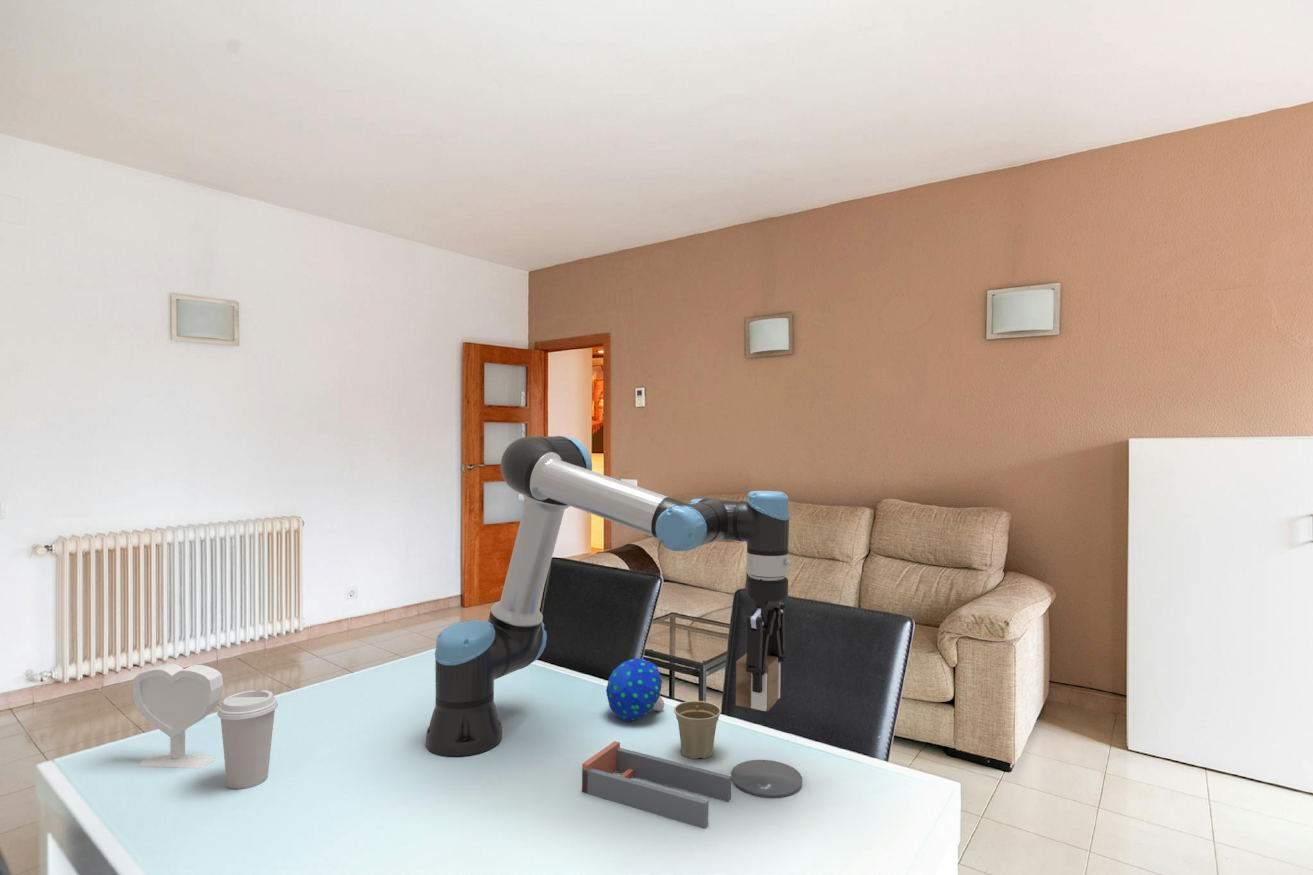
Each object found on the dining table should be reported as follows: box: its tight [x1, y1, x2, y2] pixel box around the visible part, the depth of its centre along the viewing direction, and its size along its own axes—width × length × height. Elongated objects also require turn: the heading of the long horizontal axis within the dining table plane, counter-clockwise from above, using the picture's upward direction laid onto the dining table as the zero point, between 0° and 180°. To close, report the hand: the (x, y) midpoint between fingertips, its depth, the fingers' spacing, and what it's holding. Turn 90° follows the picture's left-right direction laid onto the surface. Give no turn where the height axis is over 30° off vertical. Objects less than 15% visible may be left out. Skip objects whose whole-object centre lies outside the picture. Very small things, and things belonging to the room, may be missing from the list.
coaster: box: [730, 759, 803, 799], centre depth 131 cm, size 13×13×1 cm
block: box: [735, 652, 778, 712], centre depth 130 cm, size 6×6×8 cm
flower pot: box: [673, 700, 722, 760], centre depth 142 cm, size 9×9×9 cm
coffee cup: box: [216, 689, 279, 790], centre depth 129 cm, size 10×10×15 cm
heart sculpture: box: [132, 663, 224, 769], centre depth 136 cm, size 16×5×18 cm, turn 87°
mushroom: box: [605, 657, 665, 722], centre depth 161 cm, size 14×14×15 cm
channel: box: [581, 740, 732, 830], centre depth 125 cm, size 24×11×5 cm, turn 61°
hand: (765, 702), depth 129 cm, fingers closed on block, 6 cm apart
